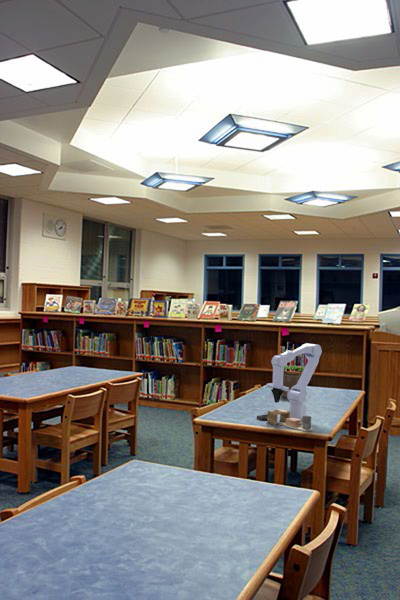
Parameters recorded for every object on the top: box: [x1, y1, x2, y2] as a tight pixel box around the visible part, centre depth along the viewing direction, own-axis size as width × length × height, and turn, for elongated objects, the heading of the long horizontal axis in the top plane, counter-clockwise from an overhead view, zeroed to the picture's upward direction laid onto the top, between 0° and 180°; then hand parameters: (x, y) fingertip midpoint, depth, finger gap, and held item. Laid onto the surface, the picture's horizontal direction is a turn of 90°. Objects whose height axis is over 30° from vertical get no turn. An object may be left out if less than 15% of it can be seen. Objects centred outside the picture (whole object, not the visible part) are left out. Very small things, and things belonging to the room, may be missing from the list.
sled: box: [277, 414, 314, 432], centre depth 271 cm, size 7×18×7 cm, turn 39°
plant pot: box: [280, 372, 302, 399], centre depth 365 cm, size 16×16×16 cm
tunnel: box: [266, 408, 290, 426], centre depth 280 cm, size 11×6×6 cm, turn 129°
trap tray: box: [256, 413, 268, 422], centre depth 287 cm, size 9×5×2 cm, turn 129°
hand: (276, 402), depth 285 cm, fingers closed
